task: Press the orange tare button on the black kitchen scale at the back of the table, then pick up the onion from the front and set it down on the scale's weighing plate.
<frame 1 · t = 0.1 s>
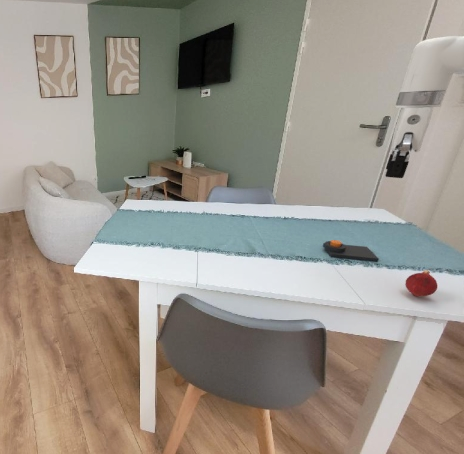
hand: (393, 173, 74), 33 cm above the table, tool pointing down, fingers open, 9 cm apart
onion: (415, 296, 80), on the table
scale: (348, 253, 102), on the table
tare button: (335, 243, 102), point 3 cm above the table, slide at 0.1 cm
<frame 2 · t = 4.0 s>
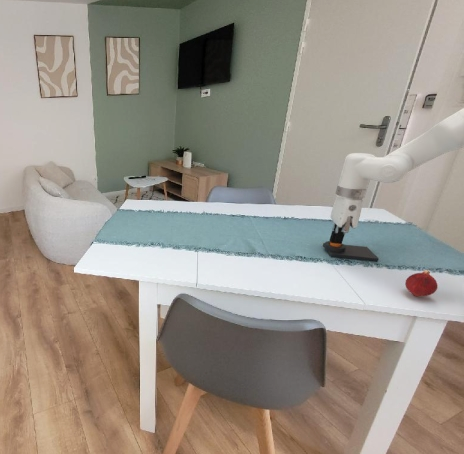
hand: (335, 242, 102), 4 cm above the table, tool pointing down, fingers closed
tare button: (335, 244, 102), point 3 cm above the table, slide at -0.2 cm, touching gripper
everything else where it was.
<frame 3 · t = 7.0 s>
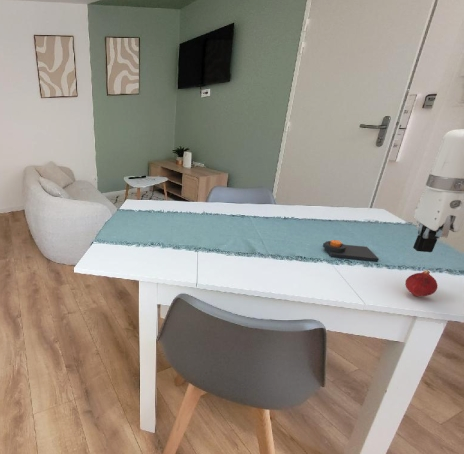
hand: (422, 250, 77), 13 cm above the table, tool pointing down, fingers closed
tare button: (335, 243, 102), point 3 cm above the table, slide at 0.1 cm
everything else where it was.
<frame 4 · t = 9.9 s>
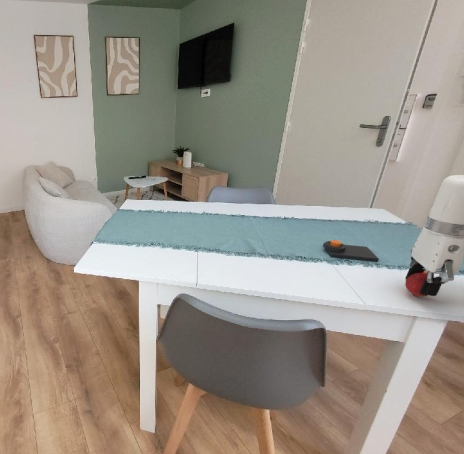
hand: (419, 287, 78), 3 cm above the table, tool pointing down, fingers closed on onion, 5 cm apart
onion: (415, 296, 80), on the table, touching gripper
everything else where it was.
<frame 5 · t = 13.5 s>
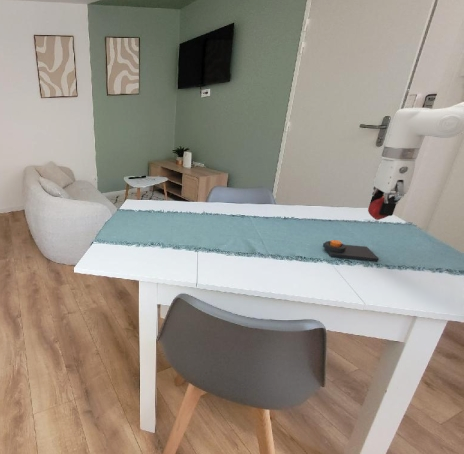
hand: (380, 211, 92), 17 cm above the table, tool pointing down, fingers closed on onion, 5 cm apart
onion: (376, 220, 93), point 14 cm above the table, touching gripper
everything else where it was.
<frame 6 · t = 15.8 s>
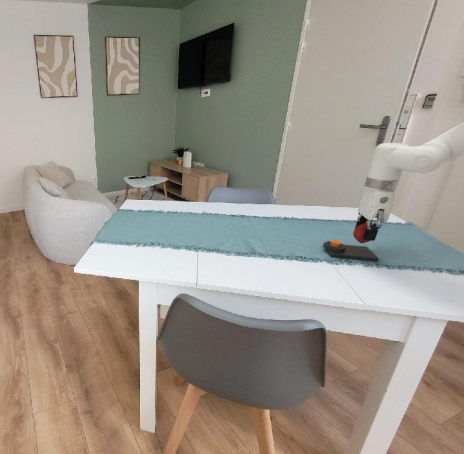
hand: (364, 235, 98), 7 cm above the table, tool pointing down, fingers closed on onion, 5 cm apart
onion: (361, 243, 99), point 4 cm above the table, touching gripper
everything else where it was.
when the fingers open (4 cm above the table, at t = 17.3 s): onion stays where it is, resting on scale.
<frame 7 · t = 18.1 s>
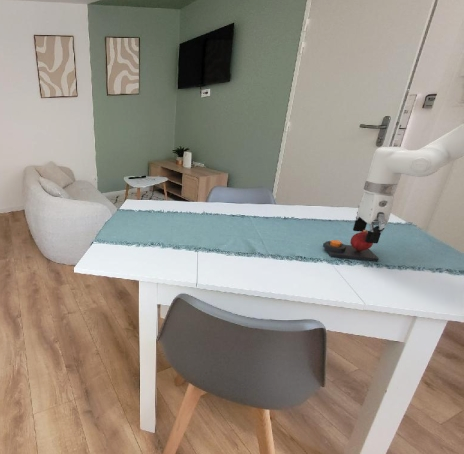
hand: (364, 236, 98), 7 cm above the table, tool pointing down, fingers open, 9 cm apart
onion: (358, 251, 101), point 1 cm above the table, touching scale
everything else where it was.
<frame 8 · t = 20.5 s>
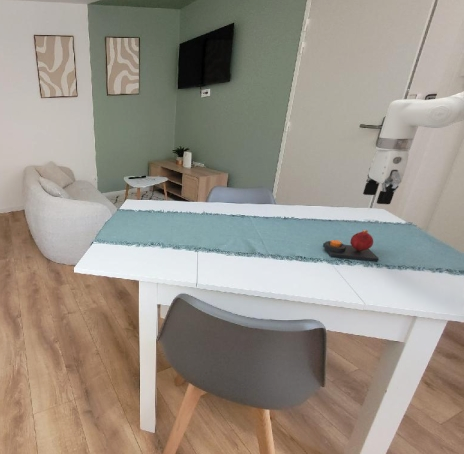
hand: (375, 199, 93), 20 cm above the table, tool pointing down, fingers open, 9 cm apart
nothing on the table moved.
at the end: tare button pushed in 0.9 cm at the most during the clip, back to where it started at the end; tare button slide at 0.1 cm; onion inside the target area on the scale (0.2 cm from its centre), point 1.2 cm above the scale's base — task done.
